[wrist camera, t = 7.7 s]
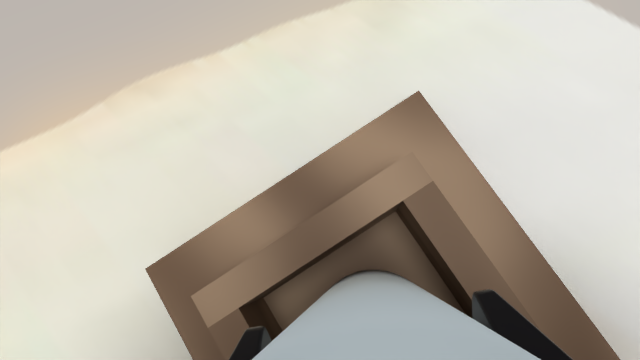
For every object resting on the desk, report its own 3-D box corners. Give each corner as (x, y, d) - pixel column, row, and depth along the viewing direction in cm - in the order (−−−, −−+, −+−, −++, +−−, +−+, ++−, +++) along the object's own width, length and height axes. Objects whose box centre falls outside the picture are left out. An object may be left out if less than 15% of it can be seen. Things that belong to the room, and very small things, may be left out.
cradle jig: (324, 571, 17) (307, 700, 12) (161, 267, 20) (94, 272, 15) (619, 378, 17) (721, 427, 12) (414, 102, 20) (430, 52, 15)
